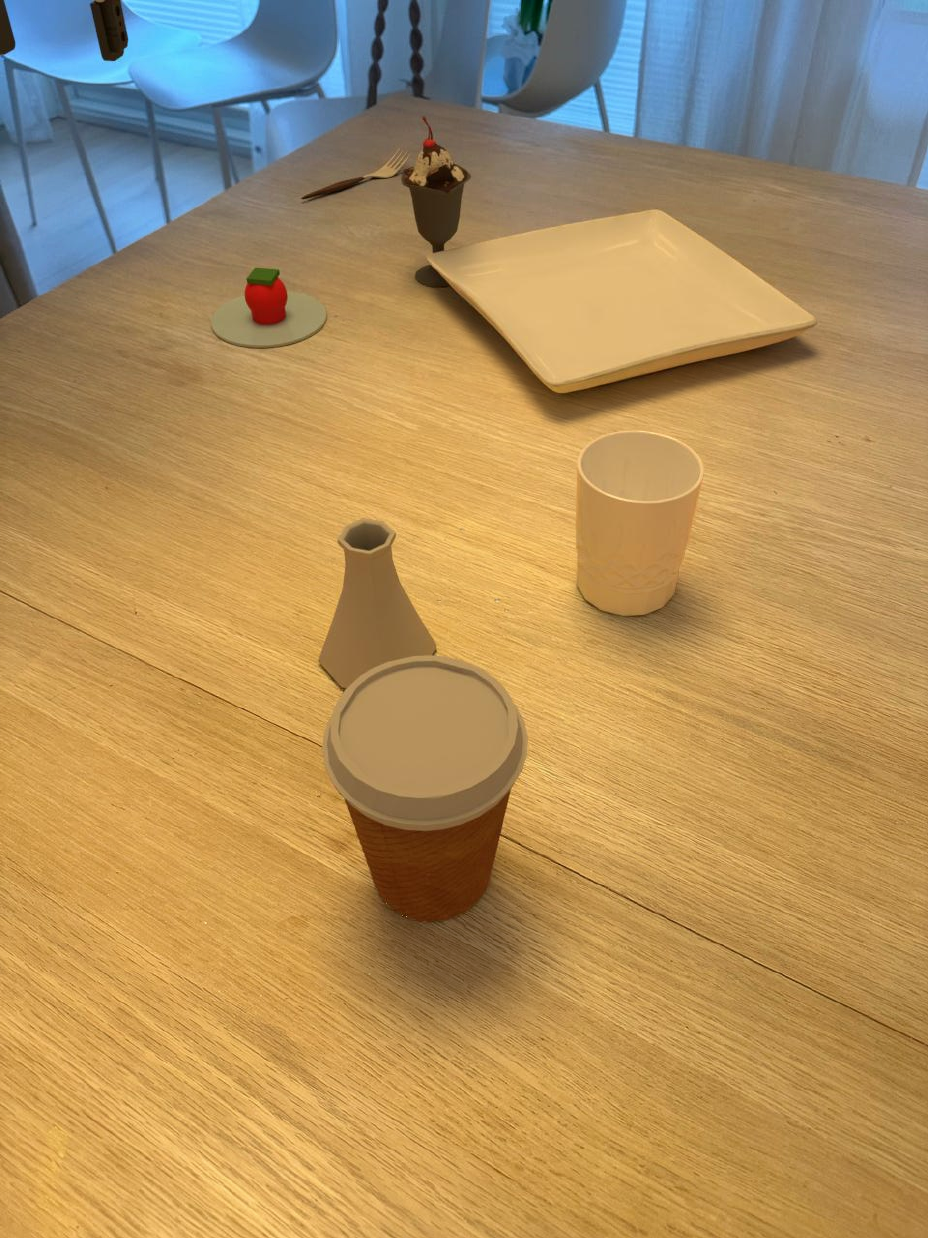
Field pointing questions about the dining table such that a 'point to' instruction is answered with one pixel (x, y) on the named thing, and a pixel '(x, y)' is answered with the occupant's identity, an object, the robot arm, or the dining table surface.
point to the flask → (371, 608)
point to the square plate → (617, 298)
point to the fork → (363, 177)
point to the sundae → (435, 200)
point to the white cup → (634, 518)
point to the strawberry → (266, 296)
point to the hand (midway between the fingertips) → (59, 54)
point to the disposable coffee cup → (426, 778)
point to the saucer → (243, 331)
